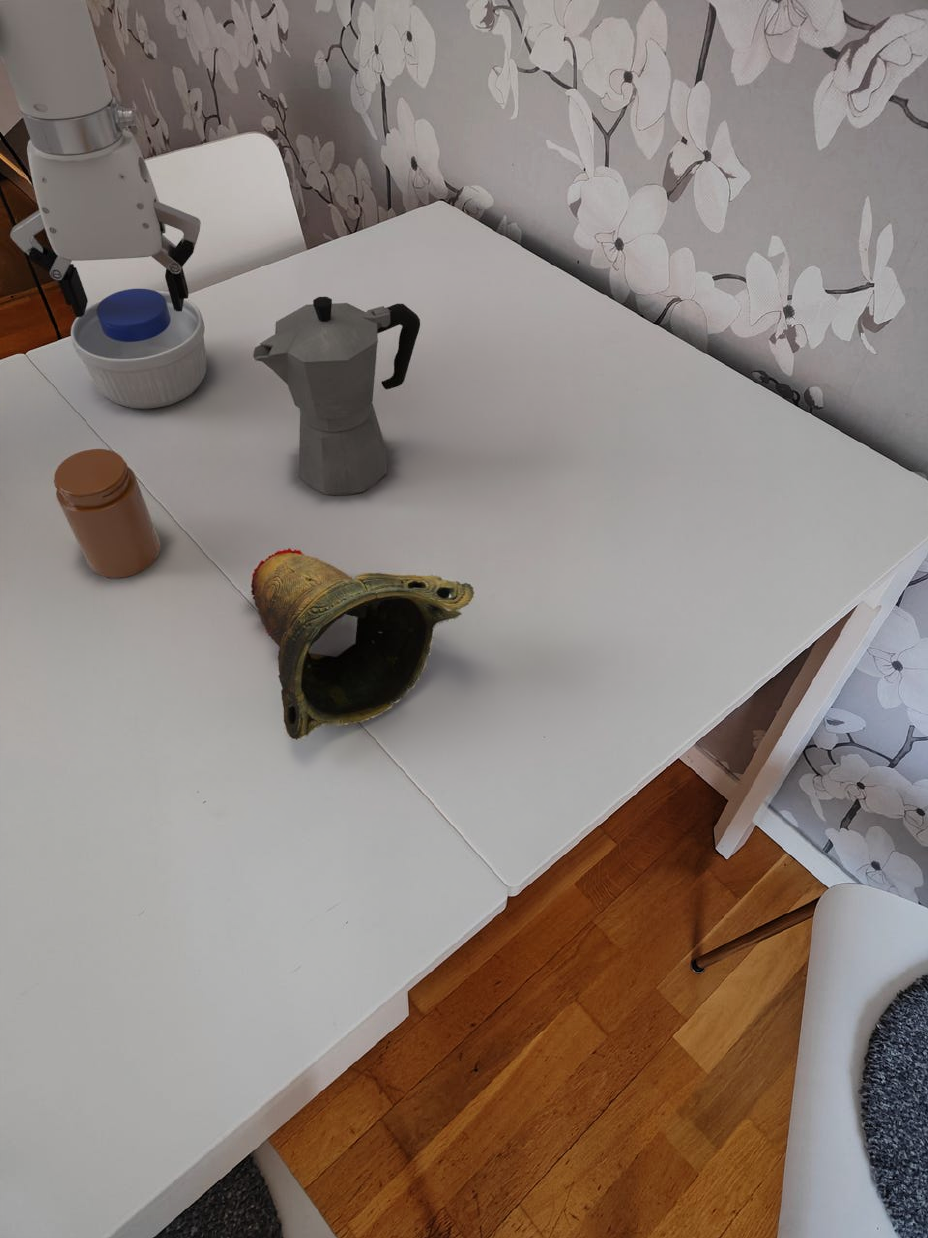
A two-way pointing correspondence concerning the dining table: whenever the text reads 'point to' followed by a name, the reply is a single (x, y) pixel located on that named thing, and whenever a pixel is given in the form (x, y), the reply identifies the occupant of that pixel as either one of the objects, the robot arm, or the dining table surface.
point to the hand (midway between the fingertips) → (131, 306)
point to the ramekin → (144, 358)
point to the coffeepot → (338, 387)
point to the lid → (133, 315)
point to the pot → (385, 635)
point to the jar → (106, 513)
